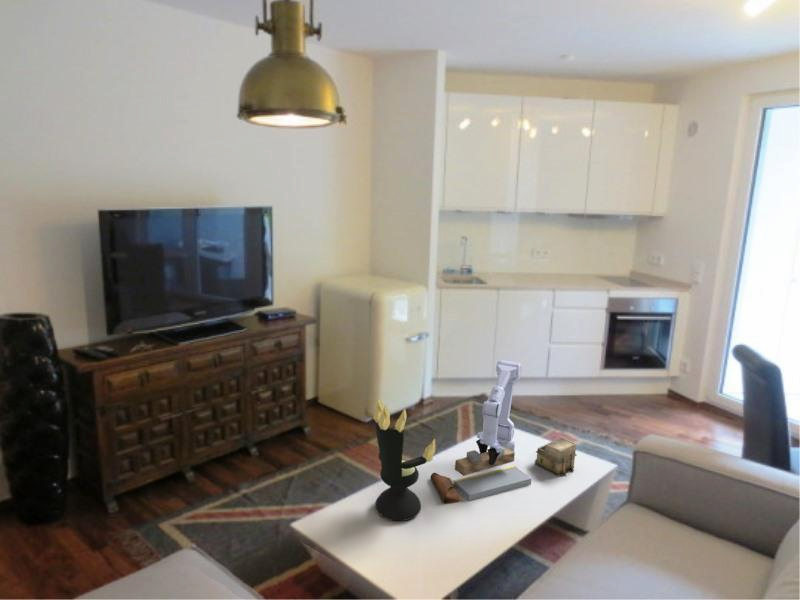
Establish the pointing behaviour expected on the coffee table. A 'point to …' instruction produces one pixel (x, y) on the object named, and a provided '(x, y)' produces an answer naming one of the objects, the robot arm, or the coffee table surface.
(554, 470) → the ornate brown chest
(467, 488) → the dock
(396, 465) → the candelabra
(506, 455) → the wooden plank
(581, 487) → the coffee table surface
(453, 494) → the sunglasses case
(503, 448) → the teal square block
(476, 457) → the crate
